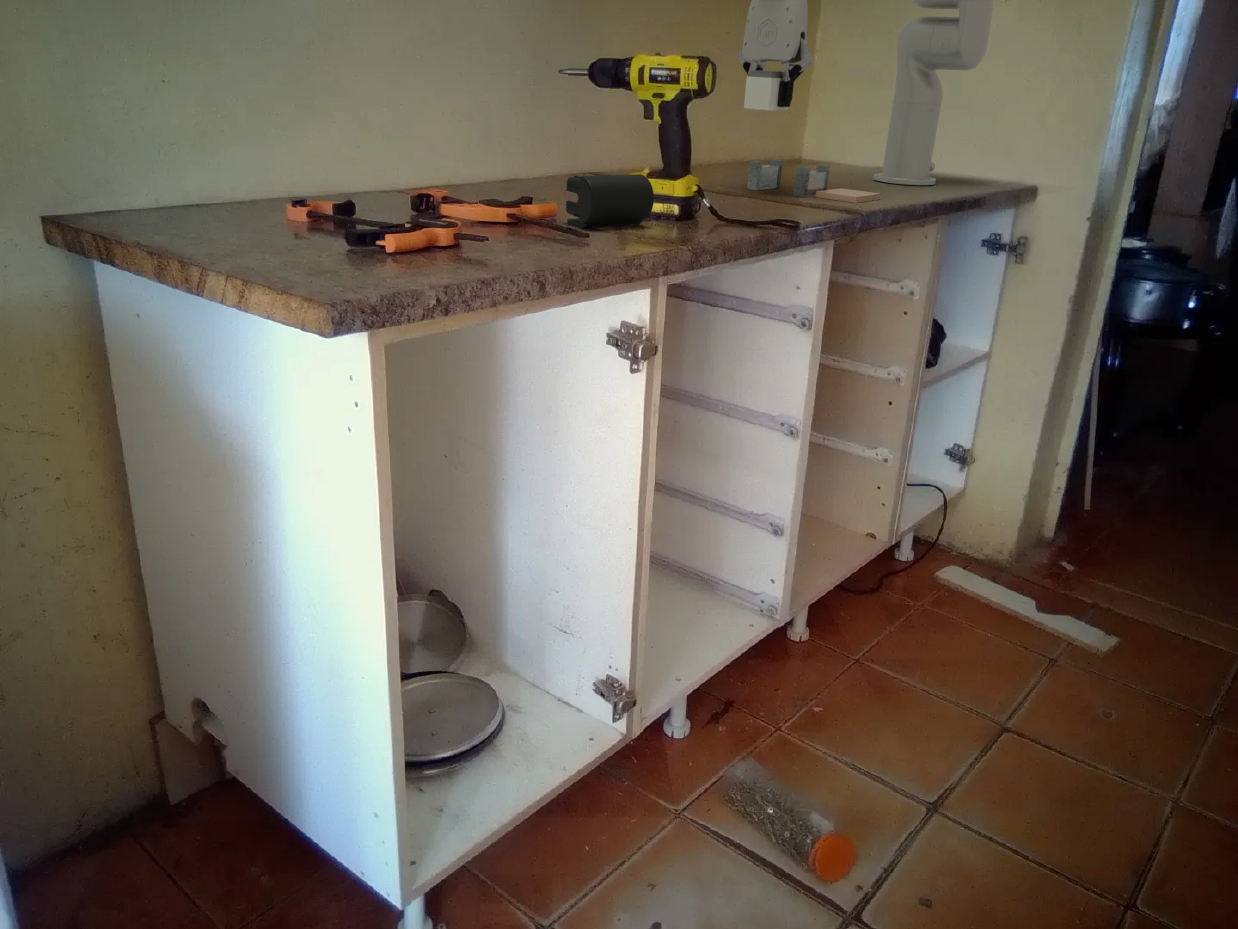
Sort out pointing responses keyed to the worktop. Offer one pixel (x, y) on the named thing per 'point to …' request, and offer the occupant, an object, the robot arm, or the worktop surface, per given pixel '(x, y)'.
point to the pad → (848, 195)
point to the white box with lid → (763, 90)
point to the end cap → (609, 200)
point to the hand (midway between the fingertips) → (769, 104)
